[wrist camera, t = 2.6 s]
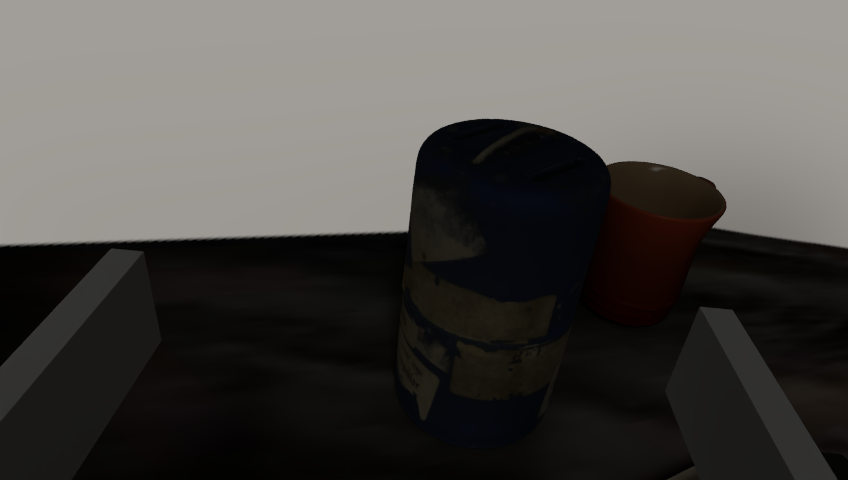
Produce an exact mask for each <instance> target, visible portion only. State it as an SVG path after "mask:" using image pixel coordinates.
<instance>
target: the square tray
mask: <svg viewBox="0 0 848 480" xmlns="http://www.w3.org/2000/svg"><path fill="white" fill-rule="evenodd" d="M667 480H700V478H699V476H698V473H697V471H696V468H695V466H693V467H691V468H689V469H687V470H685V471H683V472H681V473H679V474H677V475H675V476H673V477H671V478H669V479H667Z"/></svg>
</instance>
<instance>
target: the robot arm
mask: <svg viewBox="0 0 848 480" xmlns="http://www.w3.org/2000/svg"><path fill="white" fill-rule="evenodd" d="M160 342H161V337H160V332H159V327H158V322H157V317H156V312H155V307H154V302H153V297H152V292H151V287H150V282H149V277H148V272H147V267H146V262H145V257H144V252H140V251H130V250H120V249H110V250H109V251H108V252H107V254H106V255H105V256H104V257H103V258H102V259H101V260H100V261H99V262H98V263H97V264H96V265H95V266H94V267H93V269H92V270H91V271H90V272H89V273H88V274H87V275H86V276H85V277H84V278H83V279H82V280H81V281H80V282H79V283H78V285H77V286H76V287H75V288H74V289H73V290H72V291H71V292H70V293H69V294H68V295H67V296H66V297H65V298H64V299H63V301H62V302H61V303H60V304H59V305H58V306H57V307H56V308H55V309H54V310H53V311H52V312H51V313H50V314H49V315H48V317H47V318H46V319H45V320H44V321H43V322H42V323H41V324H40V325H39V326H38V327H37V328H36V329H35V330H34V331H33V333H32V334H31V335H30V336H29V337H28V338H27V339H26V340H25V341H24V342H23V343H22V344H21V345H20V346H19V347H18V349H17V350H16V351H15V352H14V353H13V354H12V355H11V356H10V357H9V358H8V359H7V360H6V361H5V362H4V364H3V365H2V366H1V367H0V480H72V478H73V477H74V475H75V474H76V472H77V470H78V469H79V467H80V466H81V464H82V463H83V461H84V460H85V458H86V456H87V455H88V453H89V452H90V450H91V449H92V447H93V446H94V444H95V443H96V441H97V439H98V438H99V436H100V435H101V433H102V432H103V430H104V429H105V427H106V425H107V424H108V422H109V421H110V419H111V418H112V416H113V415H114V413H115V412H116V410H117V408H118V407H119V405H120V404H121V402H122V401H123V399H124V398H125V396H126V394H127V393H128V391H129V390H130V388H131V387H132V385H133V384H134V382H135V381H136V379H137V377H138V376H139V374H140V373H141V371H142V370H143V368H144V367H145V365H146V363H147V362H148V360H149V359H150V357H151V356H152V354H153V353H154V351H155V349H156V348H157V346H158V345H159V343H160ZM665 392H666V394H667V397H668V399H669V402H670V404H671V407H672V409H673V412H674V415H675V417H676V420H677V422H678V425H679V427H680V430H681V432H682V435H683V437H684V440H685V443H686V445H687V448H688V450H689V453H690V455H691V458H692V460H693V463H694V465H695V468H696V471H697V473H698V476H699V478H700V480H848V460H847V459H846V458H845V457H844V456H843V455H842V454H832V453H822V452H820V451H819V449H818V447H817V446H816V444H815V442H814V441H813V439H812V438H811V436H810V434H809V433H808V431H807V430H806V428H805V426H804V425H803V423H802V421H801V420H800V418H799V417H798V415H797V413H796V412H795V410H794V409H793V407H792V405H791V404H790V402H789V400H788V399H787V397H786V396H785V394H784V392H783V391H782V389H781V388H780V386H779V384H778V383H777V381H776V380H775V378H774V376H773V375H772V373H771V371H770V370H769V368H768V367H767V365H766V363H765V362H764V360H763V359H762V357H761V355H760V354H759V352H758V350H757V349H756V347H755V346H754V344H753V342H752V341H751V339H750V338H749V336H748V334H747V333H746V331H745V329H744V328H743V326H742V325H741V323H740V321H739V320H738V318H737V317H736V315H735V313H734V312H733V310H726V309H716V308H706V307H700V308H699V310H698V313H697V315H696V318H695V320H694V322H693V325H692V327H691V330H690V332H689V334H688V337H687V339H686V342H685V344H684V346H683V349H682V351H681V354H680V356H679V358H678V361H677V363H676V366H675V368H674V370H673V373H672V375H671V378H670V380H669V382H668V385H667V387H666V390H665Z"/></svg>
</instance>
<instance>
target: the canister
mask: <svg viewBox="0 0 848 480" xmlns="http://www.w3.org/2000/svg"><path fill="white" fill-rule="evenodd" d="M610 191H611V177H610V173H609V170H608V168H607V166H606V164H605V163H604V162H603V160H602V159H601V157H600V156H599V155H598V154H596V153H595V152H594V151H593V150H592V149H591V148H589V147H588V146H586V145H585V144H583V143H581V142H580V141H578V140H576V139H574V138H573V137H570V136H568V135H566V134H564V133H561V132H559V131H556V130H553V129H550V128H547V127H543V126H540V125H535V124H530V123H526V122H521V121H513V120H503V119H476V120H468V121H463V122H458V123H454V124H451V125H448V126H445V127H442V128H440V129H439V130H437V131H435V132H434V133H432V134H431V135H430V136H429V137H428V138H427V139H426V140H425V141H424V143H423V144H422V146H421V148H420V150H419V153H418V157H417V162H416V169H415V176H414V184H413V192H412V203H411V212H410V222H409V231H408V241H407V251H406V256H405V267H404V274H403V283H402V288H403V297H402V304H401V314H400V327H399V337H398V348H397V359H396V370H395V382H396V390H397V393H398V396H399V399H400V401H401V404H402V406H403V407H404V409H405V411H406V412H407V414H408V415H409V416H410V418H411V419H412V420H413V421H414V422H415V423H416V424H418V425H419V426H420V427H421V428H422V429H424V430H425V431H426V432H428V433H429V434H431V435H432V436H434V437H436V438H438V439H440V440H443V441H445V442H448V443H450V444H454V445H457V446H461V447H467V448H478V449H488V448H496V447H501V446H505V445H508V444H511V443H514V442H516V441H518V440H520V439H522V438H523V437H525V436H526V435H527V434H529V433H530V432H531V431H532V430H533V429H534V428H535V427H536V426H537V425H538V423H539V422H540V420H541V419H542V417H543V415H544V413H545V411H546V409H547V406H548V403H549V400H550V397H551V393H552V390H553V386H554V383H555V380H556V377H557V374H558V371H559V367H560V364H561V361H562V357H563V354H564V350H565V347H566V344H567V340H568V337H569V334H570V331H571V327H572V324H573V320H574V317H575V311H576V307H577V304H578V301H579V297H580V294H581V291H582V287H583V284H584V281H585V277H586V274H587V271H588V268H589V264H590V261H591V258H592V255H593V251H594V248H595V245H596V241H597V238H598V235H599V231H600V228H601V225H602V221H603V218H604V215H605V211H606V208H607V205H608V201H609V197H610Z"/></svg>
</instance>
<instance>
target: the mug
mask: <svg viewBox="0 0 848 480" xmlns="http://www.w3.org/2000/svg"><path fill="white" fill-rule="evenodd" d="M607 168H608V170H609V173H610V177H611V191H610V197H609V201H608V205H607V208H606V211H605V215H604V218H603V221H602V225H601V228H600V231H599V235H598V238H597V241H596V245H595V248H594V251H593V255H592V258H591V261H590V264H589V268H588V271H587V274H586V277H585V281H584V284H583V287H582V291H581V294H580V295H581V297H582V299H583V300H584V302H585V303H586V304H587V305H588V306H589V307H590V308H591V309H592V310H593V311H594V312H595V313H597V314H598V315H600V316H601V317H603V318H605V319H607V320H609V321H611V322H614V323H617V324H620V325H625V326H632V327H642V326H650V325H654V324H657V323H659V322H661V321H662V320H664V319H665V318H666V317H667V315H668V313H669V312H670V310H671V309H672V307H673V306H674V304H675V303H676V302H677V301H678V299H679V297H680V293H681V290H682V287H683V285H684V282H685V280H686V277H687V275H688V272H689V269H690V266H691V263H692V260H693V257H694V254H695V252H696V249H697V247H698V245H699V244H700V242H701V240H702V239H703V238H704V236H705V235H706V234H707V232H708V231H709V230H710V229H711V228H712V226H713V225H714V224H715V223H716V222H717V221H718V220H719V218H720V217H721V216H722V215H723V214H724V212H725V210H726V201H725V199H724V197H723V196H722V194H721V193H720V192H719V191H718V190H717V189H716V186H715V184H714V183H713V182H711V181H709V180H707V179H705V178H703V177H696V176H694V175H692V174H690V173H687V172H685V171H682V170H679V169H676V168H673V167H669V166H664V165H660V164H654V163H647V162H635V161H634V162H633V161H632V162H631V161H629V162H628V161H627V162H617V163H613V164H609V165H607Z"/></svg>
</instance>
